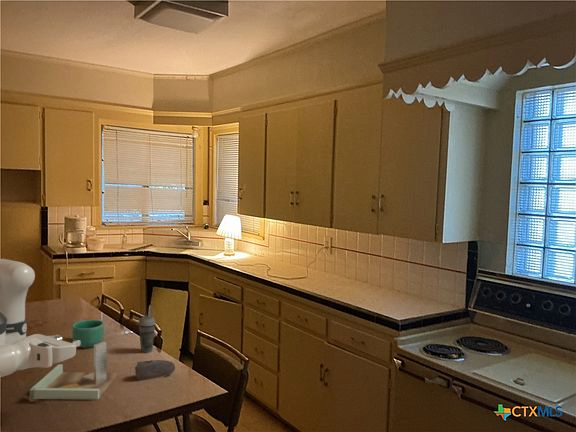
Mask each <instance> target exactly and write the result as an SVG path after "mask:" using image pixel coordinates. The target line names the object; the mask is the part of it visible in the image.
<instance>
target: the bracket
mask: <svg viewBox="0 0 576 432" xmlns="http://www.w3.org/2000/svg"><path fill="white" fill-rule="evenodd" d="M107 350H108V349H107V341H101V342H100V343H98V344H95V345H94V347H93V372H89V373H90V374H87V375H85V376H83V380H85V381H88V382H91V383H94V384H98V383H100V382H103V381H105V380H107V373H108V372H107V371H108V370H107V367H108V365H107V363H108V362H107V361H108V359H107V357H108V356H107Z"/></svg>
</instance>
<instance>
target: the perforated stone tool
mask: <svg viewBox="0 0 576 432" xmlns="http://www.w3.org/2000/svg"><path fill="white" fill-rule="evenodd" d="M175 370H176V365H175V363H173V362H172V361H171V360H165V359H152V360H144V361H143V360H142V361H137V362H136V366H135V367H134V371H135V372H134V374H135V377H136V380H137V381H143V380H150V379H156V378H161V377H163V378H165V377H167V376H170V375H171V374H173V373H174V372H175Z"/></svg>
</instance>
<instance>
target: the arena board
mask: <svg viewBox="0 0 576 432" xmlns="http://www.w3.org/2000/svg"><path fill="white" fill-rule="evenodd" d="M90 373H91V372H89V371H88V372H86V371H85V372H83V371H82V372H79V371H77V372H76V371H75V372H70V371H67V372H66V371H63V373H61V374H60V375H59V376H58V377H57V378H56V379H55V380H54V381H53V382H52V383H51V384H50V385H49V386H48V387H47V388H79V389H99V399H100V398H101V397H102V395H103V394H104V392H105V391H106V390H107V388H109V386H110V385H111V383H113V381H114V380H115V378H116V377H117V376H118V374H119V372H107V380H105V381H103V382H100V383H98V384H94V383H91V382H88V381H85V380H83V376H85V375H87V374H90ZM80 400H81V401H82V400H85V401H86V400H88V401H89V400H91V401H93V400H94V401H95V400H96V399H80ZM29 403H45V401H44V400H42V399H30V398H29Z"/></svg>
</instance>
